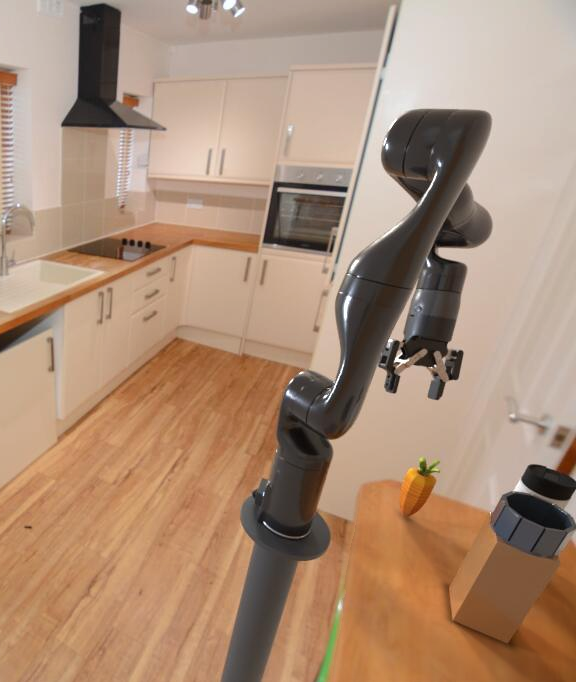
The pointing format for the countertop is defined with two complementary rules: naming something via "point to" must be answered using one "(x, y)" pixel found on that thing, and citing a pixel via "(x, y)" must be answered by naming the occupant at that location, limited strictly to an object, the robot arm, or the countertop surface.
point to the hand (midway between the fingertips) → (411, 395)
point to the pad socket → (509, 564)
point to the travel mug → (547, 484)
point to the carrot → (417, 487)
